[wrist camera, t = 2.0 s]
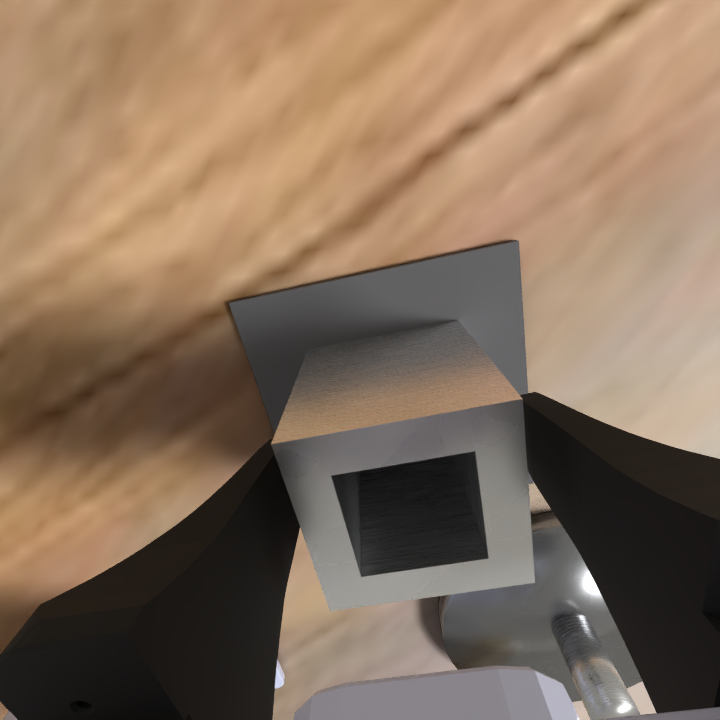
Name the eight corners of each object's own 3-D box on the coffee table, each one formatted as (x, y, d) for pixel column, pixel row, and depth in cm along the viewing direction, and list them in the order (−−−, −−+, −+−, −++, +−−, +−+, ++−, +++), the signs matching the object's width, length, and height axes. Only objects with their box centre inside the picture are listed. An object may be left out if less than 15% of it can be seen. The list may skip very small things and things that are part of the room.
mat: (305, 515, 17) (304, 520, 17) (231, 301, 14) (229, 303, 14) (530, 478, 17) (533, 483, 16) (515, 239, 13) (518, 240, 13)
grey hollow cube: (342, 470, 16) (330, 611, 11) (307, 349, 14) (270, 444, 9) (474, 448, 16) (535, 582, 10) (457, 319, 14) (522, 399, 8)
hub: (454, 688, 22) (476, 808, 18) (421, 531, 18) (440, 638, 13) (674, 662, 21) (756, 782, 17) (698, 488, 17) (816, 589, 12)
